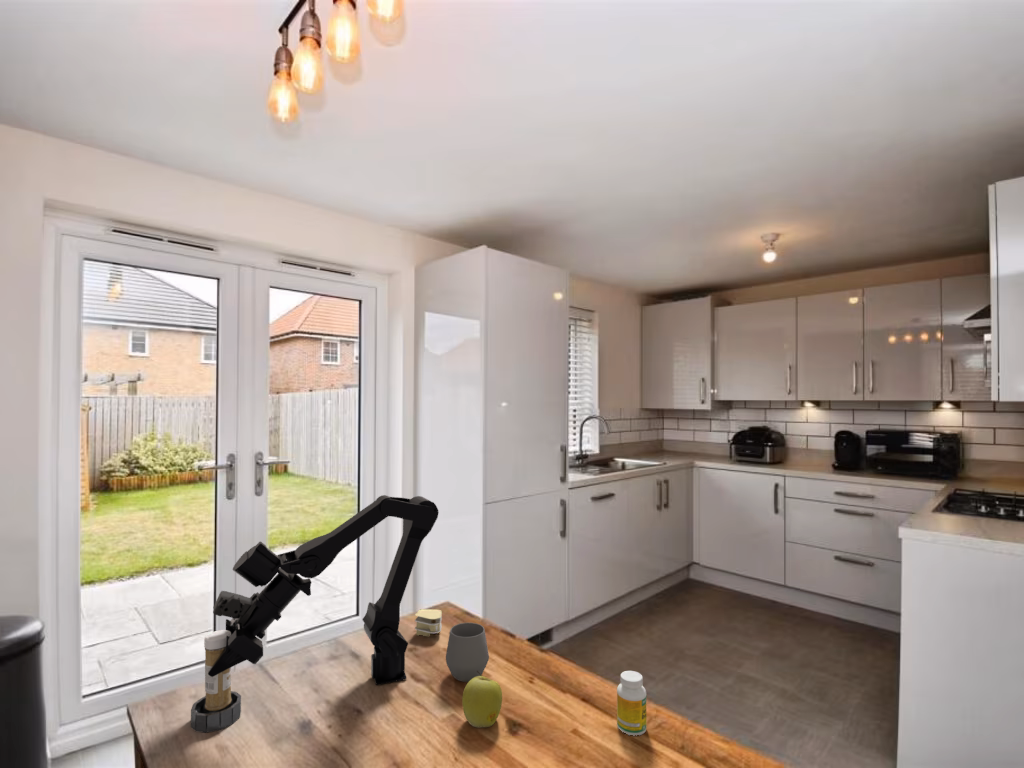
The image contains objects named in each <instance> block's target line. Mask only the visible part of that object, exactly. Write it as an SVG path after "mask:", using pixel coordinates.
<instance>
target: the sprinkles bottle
mask: <svg viewBox="0 0 1024 768" xmlns="http://www.w3.org/2000/svg"><path fill="white" fill-rule="evenodd" d="M226 635H227V636H229V637H230V636H231V632H230V631H228V630H226V629H220V630H216V631H211V632H210V633H208V634H206V635H205V637H204V641H203V642H204V643H203V644H204V645H203V647H204V650H205V652H204V653H205V658H204V659H205V663H204V689H205V691H204V692H205V696H206V704H205V709H206V710H208V711H217V710H221V709H223V708H225V707H227V706H228V705H229V704H230V703H231V700H232V699H231V691H232V674H231V673H232V669H231V668H232V667H231V668H229V669H227V670H225V671H223V672H221V673H219V674H217V675H215V676H213V677H211V676H209V675H208V672H209V670H210V669H211V667H212V666H213V664H214V663H215V662H216V660H217V659H218V657H219V656H220V654H221V653H222V652H223V650H224V649H225V647H226Z"/></svg>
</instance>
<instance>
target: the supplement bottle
mask: <svg viewBox="0 0 1024 768" xmlns="http://www.w3.org/2000/svg"><path fill="white" fill-rule="evenodd" d="M619 682H620V683H619V684H618V686H617V688H616V726H617V729H618V730H619V729H620V730H621V731H622V733H623V732H624V733H626V734H628V735H627V736H630V735H633V736H632V737H638V736H637V735H639V736H642V735H643V734H645V732H646V731H647V697H648V696H647V690H646V688H645V687H644V686H643V684H644V679H643V675H642V674H641V673H640V672H638V671H634V670H625V671H622V672H621V673H620V679H619ZM620 730H619V731H620ZM621 731H620V732H621ZM624 733H623V734H624ZM626 734H625V735H626ZM635 735H636V736H635Z"/></svg>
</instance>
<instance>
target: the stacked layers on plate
mask: <svg viewBox="0 0 1024 768" xmlns="http://www.w3.org/2000/svg"><path fill="white" fill-rule="evenodd" d="M442 612H443V611H442V610H440V609H419V610H418V611H417V612H416V613H415V614H414V616H416V618H415V619H414V622H416V624H415V625H416V626H415V627H414V630H415V631H416V633H415V635H416V636H419V635H423V636H422V637H429V636H430V637H431V634H436V635H438V633H439V632H440V633H441V631H442V626H443V624H442V621H443V620H442V618H443V617H442ZM440 633H439V634H440Z"/></svg>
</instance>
